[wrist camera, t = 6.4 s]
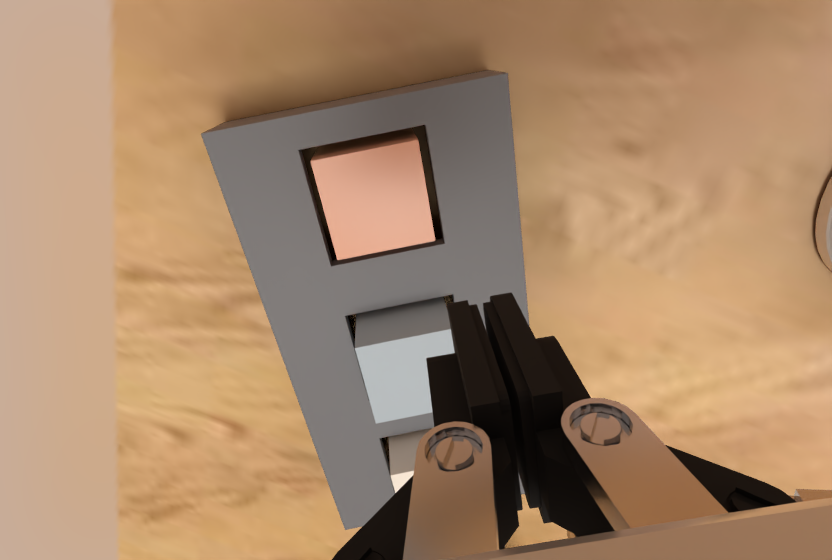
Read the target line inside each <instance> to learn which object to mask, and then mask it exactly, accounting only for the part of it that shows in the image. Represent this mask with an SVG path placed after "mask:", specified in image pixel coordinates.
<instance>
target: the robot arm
mask: <svg viewBox="0 0 832 560" xmlns="http://www.w3.org/2000/svg"><path fill="white" fill-rule="evenodd" d="M815 237H816V242H817V248H818V252H819V254H820V256H821V258H822V260H823V262H824V264H825V265H826V266H827V267H828V268H829V269H830V271H831V272H832V177H831V179H830V180H829V182H828V185H827V187H826V189H825V192H824V194H823V196H822V199H821V202H820V206H819V210H818V214H817V218H816V232H815ZM447 310H448V316H449V322H450V328H451V334H452V340H453V346H454V352H455V353H452V354H446V355H440V356H435V357H429V358H426V361H427V370H428V378H429V387H430V395H431V404H432V412H433V420H434V428H432V429H431V430H430V431H428V432H427V433H426V434H425V435H424V436H423V437H422V439H421V440H420V441H419V444H418V447H417V451H416V459H415V467H414V475H413V476H412V477H411V478H410V479H409V480H408V481H407V482H406V483H405V484H404V485H403V486H402V487H401V488H400V489H399V490H398V491H397V492H396V493H395V494H394V495H393V496H392V497H391V498H390V499H389V500H388V501H387V502H386V503H385V504H384V505H383V506H382V507H381V508H380V509H379V511H378V512H377V513H376V514H375V515H374V516H373V517H372V518H371V519H370V520H369V521H368V522H367V523H366V524H365V525H364V526H363V527H362V528H361V529H360V530H359V531H358V532H357V533H356V534H355V535H354V536H353V537H352V538H351V539H350V540H349V541H348V542H347V543H346V544H345V545H344V546H343V547H342V548H341V549H340V550H339V551H338V552H337V554H336V555H335V556H334V558H333V559H332V560H832V490H808V489H796V490H795V495H794V496H788V495H787V494H786V493H784V492H783V491H782V490H780V489H778V488H776V487H773V486H771V485H769V484H767V483H765V482H762V481H760V480H757V479H754V478H752V477H749V476H746V475H744V474H741V473H738V472H736V471H733V470H730V469H728V468H725V467H722V466H720V465H717V464H715V463H712V462H709V461H707V460H704V459H701V458H699V457H696V456H693V455H691V454H688V453H685V452H683V451H680V450H677V449H675V448H672V447H669V446H667V445H664V444H663V442H662V441H661V440H660V439H659V438H658V437H657V436H656V435H655V434H654V433H653V432H652V431H651V430H650V429H649V428H648V426H647V425H646V424H645V423H644V422H643V421H642V420H641V419H640V418H639V417H638V416H637V415H636V414H635V413H634V412H633V411H632V410H630V409H629V408H628V407H627V406H625V405H623V404H620V403H618V402H616V401H612V400H608V399H604V398H591V397H590V396H589V394H588V392H587V390H586V389H585V387H584V385H583V384H582V382H581V380H580V378H579V377H578V375H577V373H576V372H575V370H574V368H573V366H572V365H571V363H570V361H569V360H568V358H567V356H566V354H565V353H564V351H563V349H562V348H561V346H560V344H559V342H558V341H557V339H556V338H555V337H554V336H549V337H544V338H538V339H535V337H534V335H533V333H532V331H531V329H530V327H529V325H528V323H527V321H526V319H525V317H524V315H523V313H522V311H521V309H520V307H519V305H518V303H517V301H516V299H515V298H514V296H513V294H512V292H510V293H504V294H499V295H493V296H490V302H485V303H483V310H484V318H485V326H486V329H485V326H484V323H483V320H482V318H481V315H480V312H479V309H478V306H477V304H474V305H469V303H468V300H465V301H459V302H454V303H448V304H447ZM519 476H520V479H521V482H522V486H523V489H524V492H525V495H526V499H527V502H528V505H529V507H530V508H537V507H539V510H540V513H541V516H542V519H543V522H544V523H549V522H554V523H555V524H557V525H559V526H561V527H563V528H564V529H566V530H567V536H568V539H562V540H556V541H550V542H544V543H537V544H531V545H525V546H519V547H513V548H507V549H506V548H505V545H506V543H507V542H508V540H509V539H510V538H511V536H512V535H513V533H514V532H515V531H516V529H517V528H518V526H519V522H518V513H517V511H518V510H522V500H521V491H520V482H519Z"/></svg>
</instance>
